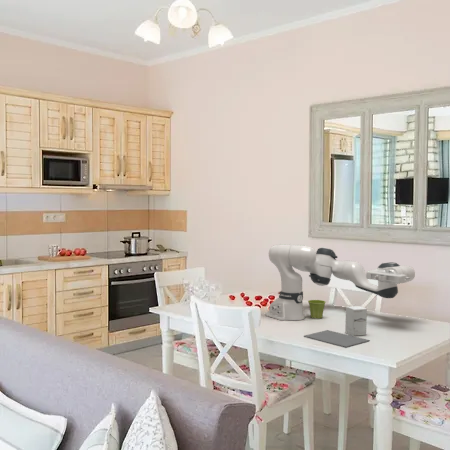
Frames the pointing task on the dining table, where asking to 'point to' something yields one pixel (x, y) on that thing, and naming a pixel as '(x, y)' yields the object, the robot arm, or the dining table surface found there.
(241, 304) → the dining table surface
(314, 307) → the plant pot
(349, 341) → the mat
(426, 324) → the dining table surface
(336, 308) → the dining table surface
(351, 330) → the supplement box
